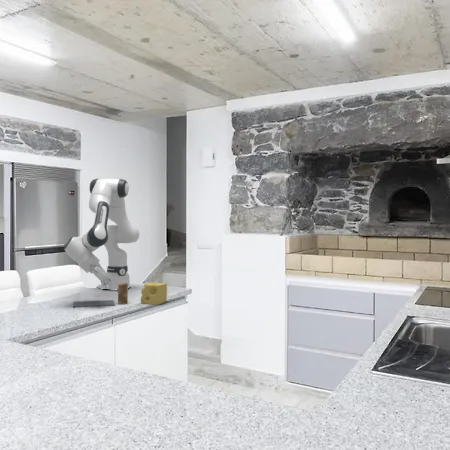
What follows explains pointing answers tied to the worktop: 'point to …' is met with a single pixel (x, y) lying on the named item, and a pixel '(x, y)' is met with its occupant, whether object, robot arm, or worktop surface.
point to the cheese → (154, 293)
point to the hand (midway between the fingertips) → (110, 283)
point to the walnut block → (122, 293)
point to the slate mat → (93, 303)
